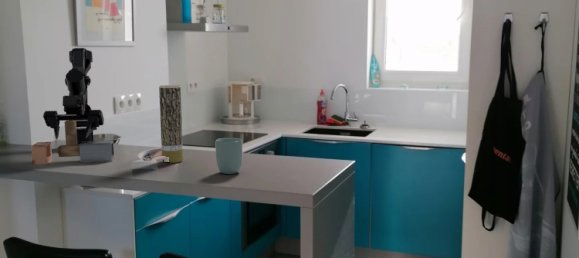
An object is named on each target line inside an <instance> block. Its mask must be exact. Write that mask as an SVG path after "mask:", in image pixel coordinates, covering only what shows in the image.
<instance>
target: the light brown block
mask: <svg viewBox="0 0 579 258" xmlns="http://www.w3.org/2000/svg"><path fill="white" fill-rule="evenodd" d="M30 148H31V162H32V165H33V166H34V165H35V166H36V165H38V166H39V165H47V164H49V163H50V162H52V161H53V155H52V154H53V153H52V151H53V150H52V142H51V141H43V142H42V141H40V142H35V143H33V144H31V146H30Z"/></svg>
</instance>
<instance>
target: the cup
mask: <svg viewBox="0 0 579 258" xmlns="http://www.w3.org/2000/svg"><path fill="white" fill-rule="evenodd" d="M214 145H215V148H214V149H215V162H216V167H217V170H218V172H220V173H222V174H223V175H224V174H225V175H233V174H237V173H239V172H240V170H241V169H242V166H243V159H244V158H243V157H244V155H243V154H244V151H243V150H244V149H243V139H242V138H239V137H223V138H222V137H221V138H217V139H216V140H215V143H214Z"/></svg>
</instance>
